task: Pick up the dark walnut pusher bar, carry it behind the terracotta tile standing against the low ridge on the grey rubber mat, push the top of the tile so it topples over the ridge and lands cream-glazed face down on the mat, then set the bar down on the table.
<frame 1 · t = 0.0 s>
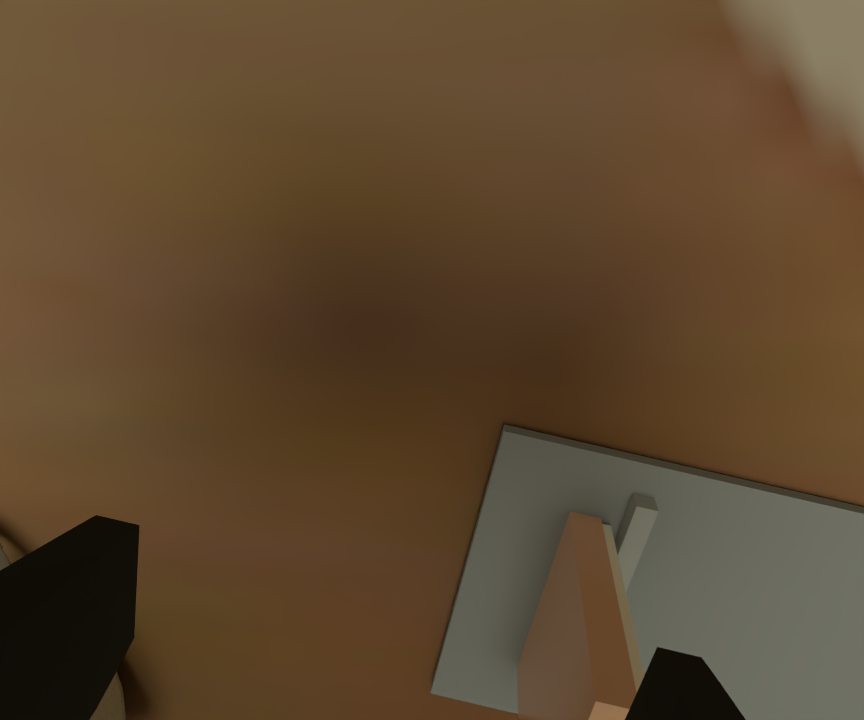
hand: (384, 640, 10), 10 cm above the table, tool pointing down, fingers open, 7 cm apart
mat: (689, 618, 21), on the table
ceramic mug: (2, 627, 25), on the table
tile: (561, 597, 21), resting on mat
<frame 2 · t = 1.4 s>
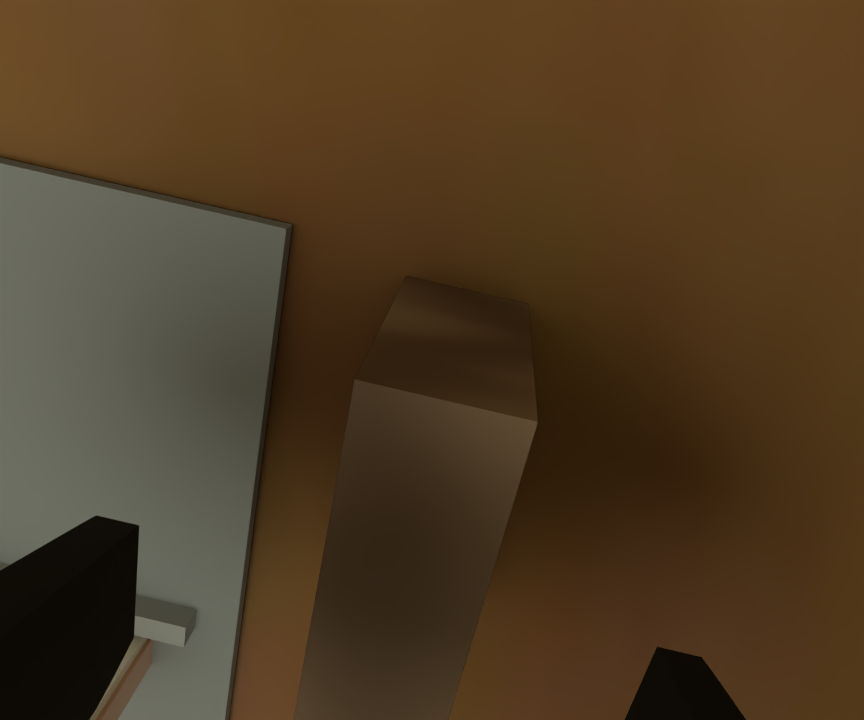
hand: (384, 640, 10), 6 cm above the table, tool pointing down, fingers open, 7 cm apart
mat: (42, 473, 16), on the table
tile: (34, 618, 17), resting on mat
pusher bar: (431, 443, 15), on the table
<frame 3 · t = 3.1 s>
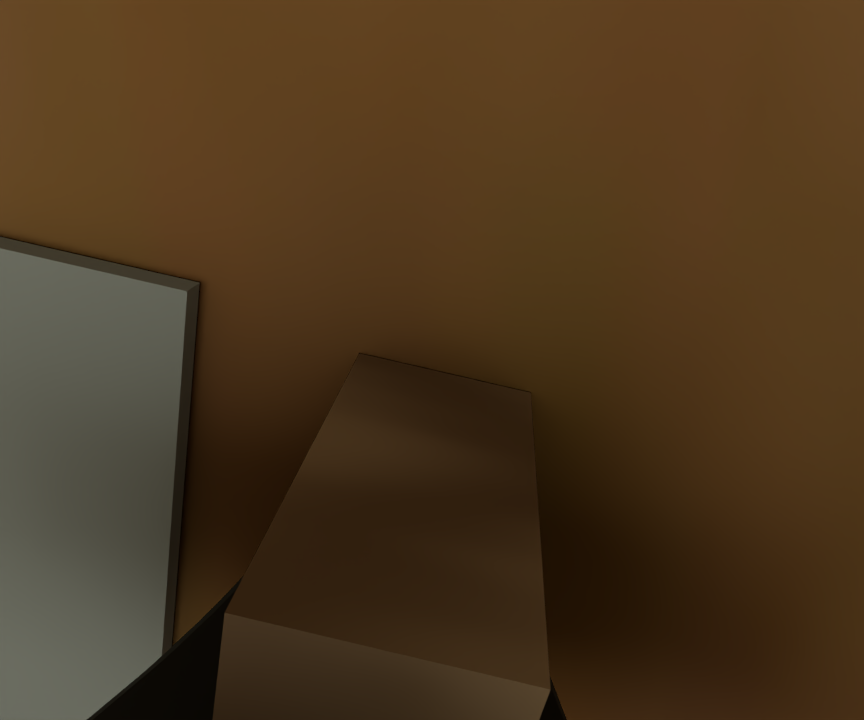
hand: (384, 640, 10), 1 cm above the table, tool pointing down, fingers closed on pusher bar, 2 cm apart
pusher bar: (398, 572, 11), on the table, touching gripper
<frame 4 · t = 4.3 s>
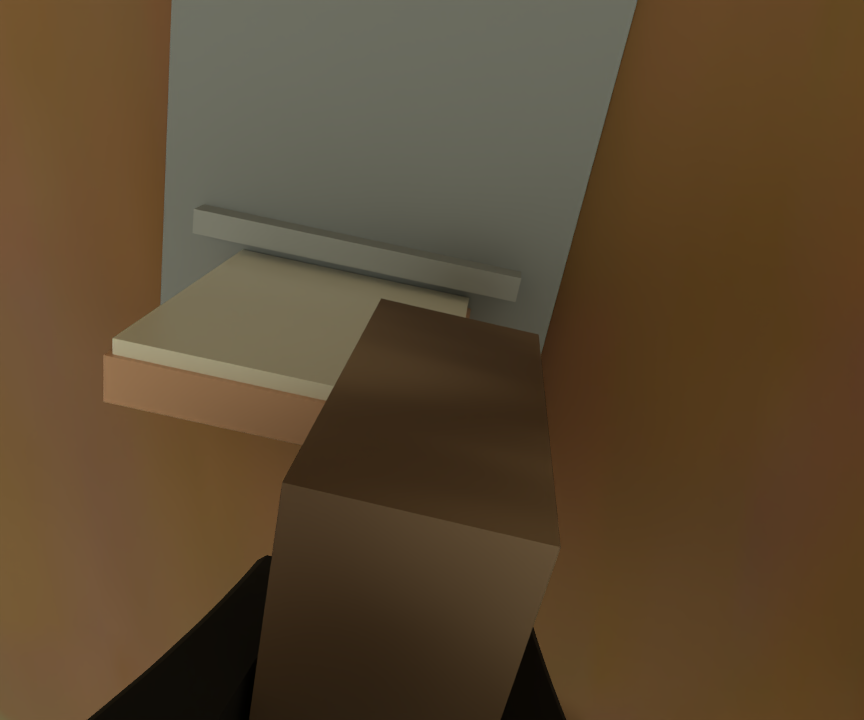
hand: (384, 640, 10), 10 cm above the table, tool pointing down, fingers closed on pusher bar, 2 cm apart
mat: (380, 132, 17), on the table
tile: (352, 294, 18), resting on mat
pusher bar: (414, 507, 12), point 7 cm above the table, touching gripper
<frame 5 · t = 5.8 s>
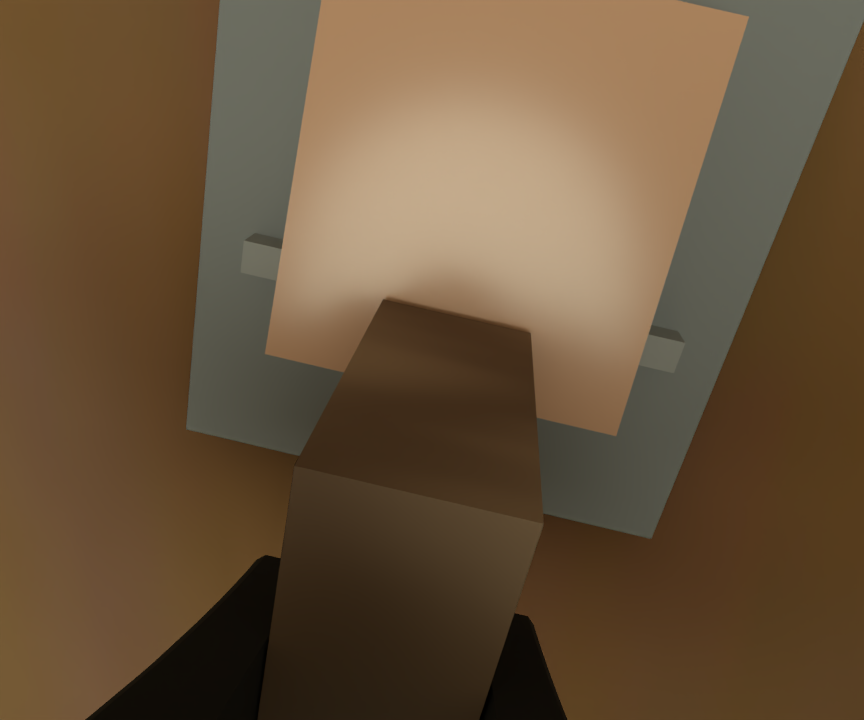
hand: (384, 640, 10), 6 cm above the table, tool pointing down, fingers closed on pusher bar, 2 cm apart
mat: (498, 141, 12), on the table
tile: (442, 384, 12), point 2 cm above the table, tilted 97°
pusher bar: (414, 496, 13), point 2 cm above the table, touching gripper
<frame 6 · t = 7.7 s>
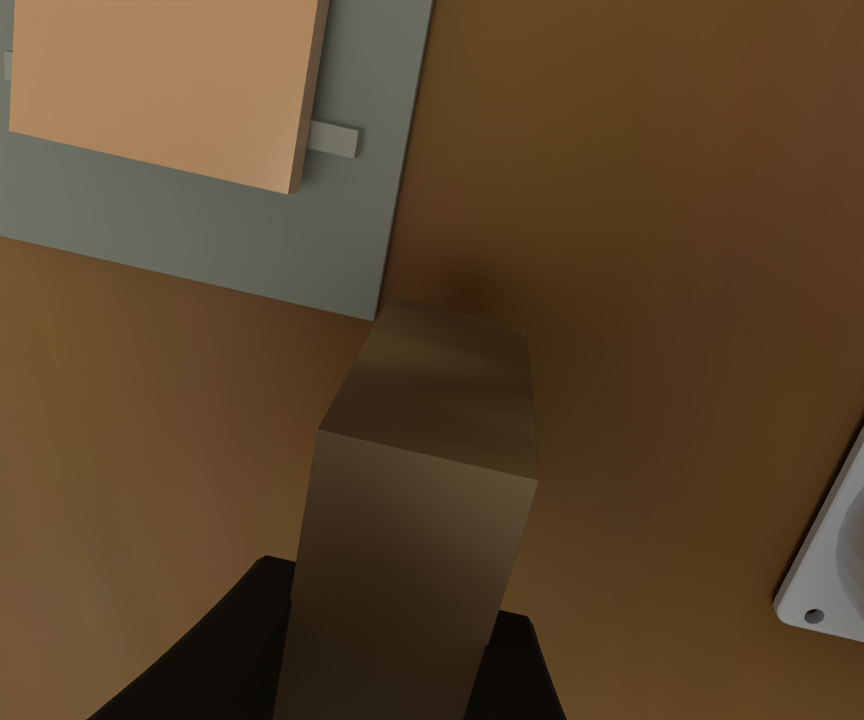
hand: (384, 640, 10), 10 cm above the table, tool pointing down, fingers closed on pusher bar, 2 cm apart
tile: (160, 162, 15), point 2 cm above the table, tilted 97°, touching mat
pusher bar: (417, 483, 13), point 5 cm above the table, touching gripper
when the fingers open (2 cm above the table, at t = 8.7 s): pusher bar stays where it is, on the table.
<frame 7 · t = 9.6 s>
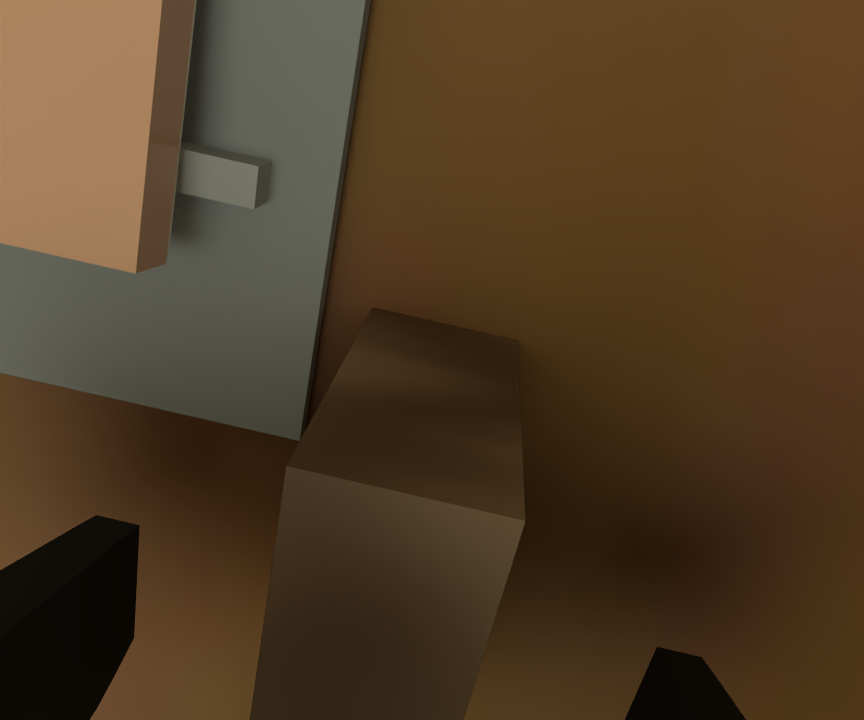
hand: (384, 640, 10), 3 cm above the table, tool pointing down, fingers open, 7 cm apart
pusher bar: (405, 498, 13), on the table
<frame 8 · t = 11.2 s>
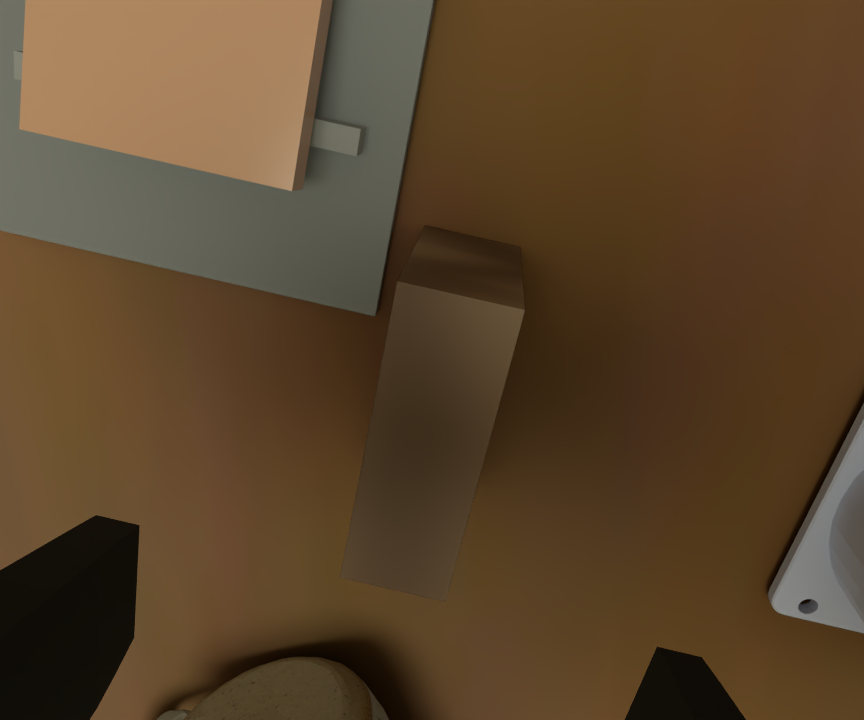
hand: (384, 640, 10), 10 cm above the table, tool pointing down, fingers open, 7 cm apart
tile: (167, 160, 16), point 2 cm above the table, tilted 97°, touching mat
pusher bar: (443, 361, 19), on the table
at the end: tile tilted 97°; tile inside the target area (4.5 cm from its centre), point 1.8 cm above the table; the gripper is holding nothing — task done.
